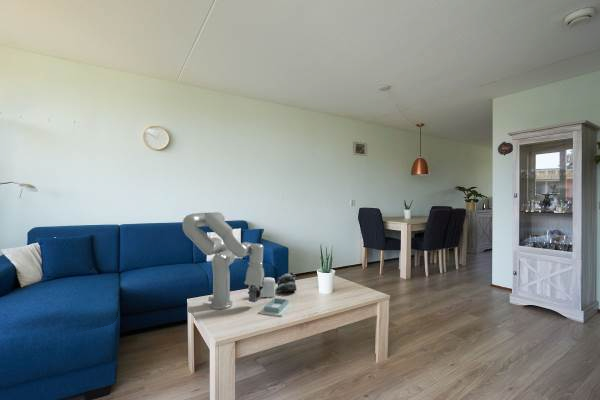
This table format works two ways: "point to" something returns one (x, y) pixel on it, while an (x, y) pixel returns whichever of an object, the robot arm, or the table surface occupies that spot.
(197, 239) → the robot arm
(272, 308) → the dock
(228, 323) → the table surface
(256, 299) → the servo block
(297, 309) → the table surface
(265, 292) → the photo printer
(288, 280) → the dark grey rough lump
